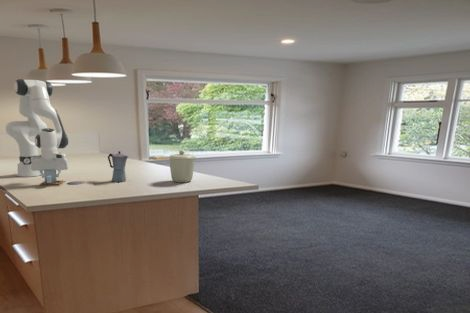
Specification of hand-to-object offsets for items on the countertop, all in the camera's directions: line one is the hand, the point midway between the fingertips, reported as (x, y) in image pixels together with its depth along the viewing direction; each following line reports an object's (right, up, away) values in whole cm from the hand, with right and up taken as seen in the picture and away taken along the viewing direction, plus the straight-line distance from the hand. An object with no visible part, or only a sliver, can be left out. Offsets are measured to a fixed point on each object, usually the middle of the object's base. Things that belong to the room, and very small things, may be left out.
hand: (50, 177), depth 202 cm
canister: (+79, -4, +17) cm, 81 cm away
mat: (+14, -5, +4) cm, 15 cm away
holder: (0, -5, 0) cm, 5 cm away
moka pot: (+36, -4, +16) cm, 40 cm away
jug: (+2, -4, -4) cm, 6 cm away
